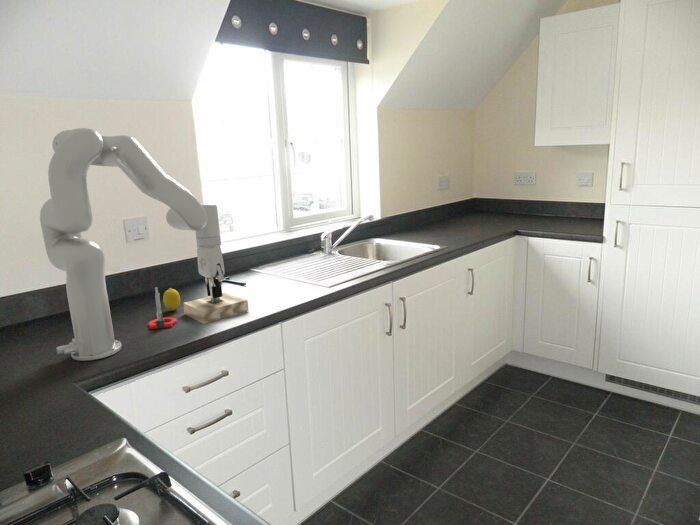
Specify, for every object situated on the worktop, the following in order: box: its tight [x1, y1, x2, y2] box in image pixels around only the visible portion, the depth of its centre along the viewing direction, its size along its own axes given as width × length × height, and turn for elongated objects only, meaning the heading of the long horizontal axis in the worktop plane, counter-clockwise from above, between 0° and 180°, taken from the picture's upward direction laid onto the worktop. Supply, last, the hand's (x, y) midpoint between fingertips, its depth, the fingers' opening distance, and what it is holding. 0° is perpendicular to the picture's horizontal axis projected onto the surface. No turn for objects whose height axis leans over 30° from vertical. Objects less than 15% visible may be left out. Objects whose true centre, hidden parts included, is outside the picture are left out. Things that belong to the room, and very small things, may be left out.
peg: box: [208, 274, 221, 304], centre depth 171 cm, size 3×3×11 cm
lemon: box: [162, 287, 182, 312], centre depth 176 cm, size 6×6×8 cm
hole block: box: [182, 291, 249, 325], centre depth 172 cm, size 16×14×4 cm
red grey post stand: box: [147, 287, 178, 330], centre depth 163 cm, size 8×13×9 cm
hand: (215, 295), depth 171 cm, fingers closed on peg, 3 cm apart
